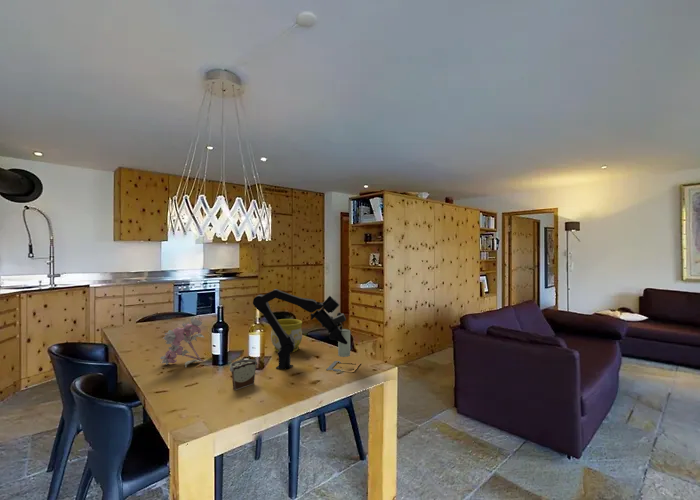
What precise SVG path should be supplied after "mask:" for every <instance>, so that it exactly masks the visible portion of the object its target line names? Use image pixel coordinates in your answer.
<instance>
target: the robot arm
mask: <svg viewBox="0 0 700 500" xmlns="http://www.w3.org/2000/svg"><path fill="white" fill-rule="evenodd" d="M275 299H278V300H281V301H284V302H286V303H290V304H292V305H295V306H298V307H299V308H301V309H302V310H304V311H305V312H307V313H310V320H311V321H312V320H313V319H314V318H315V320H317V321H318V322H319V323H320V324H321V327H322V328H324V329H326V331H327V333H328V339H330V341H336V342H338V341H339V342H341V343H344V344H347V343H348V342H347V341H346V340H345V338H344V337H343V335H342V329H343V324H342V322H346V321H347V318H346V316H345V314H344V313H341V312H337V315H336V316H334V317H333V316H332V315H331V316H330V315H329V313H330V314H332V313H333V312H334V311H335V310H336V309H337V308H338V307H339V306H340V304H339V302H338V301H337V300H336V299H334V298H333V297H332V296H331V295H329V296H328V297H327V298H326V299H325V300H324V301H323V302H320V301H316V300H315V299H314V298H312V299H311V298H306V297H305V298H304V297H300V296H296V295H294V294H291V293H288V292H286V291H283V290H280V289H277V288H275V289H273V290H272V291H269V292H267V293H264V294H258V295H256V296H255V297H254V298H253V300H252V305H253V306H254V308H255V309H257V311H259V313H260V314H262V315H263V316H264V319H265V320H266V321H267V323H268V324H269V326H270V327H272V328H271V330H272V329H273V330H274V332H275V334H276V335H277V337H278V339H279V342H280V345H281V348H280V349H279V352H277V357H278V366H276V367H275V369H276V370H283V371H284V370H285V371H288V370H290V369H291V368H293V367H294V365H293V364H291V354H292V353H294V352H293V350H294V347H295V340H294V339H293V337H292V335H291V334H290V335H287V334H286V333H285V331H284V330H283V328H282V327H281V325H280V324H279V322H278V320H279V319H277V317H276V316H275V314H274V313H273V311H272V309H271V307H270V304H269V303H270V302H272V300H275Z"/></svg>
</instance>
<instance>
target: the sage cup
mask: <svg viewBox="0 0 700 500" xmlns="http://www.w3.org/2000/svg"><path fill="white" fill-rule="evenodd" d="M342 335H343V337H344V338H345V340H346V341H347V342H348V343H347V344H344V343H341V342H339V341H337V342H338V343H337V346H338V347H337V348H338V349H337V356H338V357H342V358H347V357H350V356H351V330H350V329H343V328H342Z"/></svg>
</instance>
